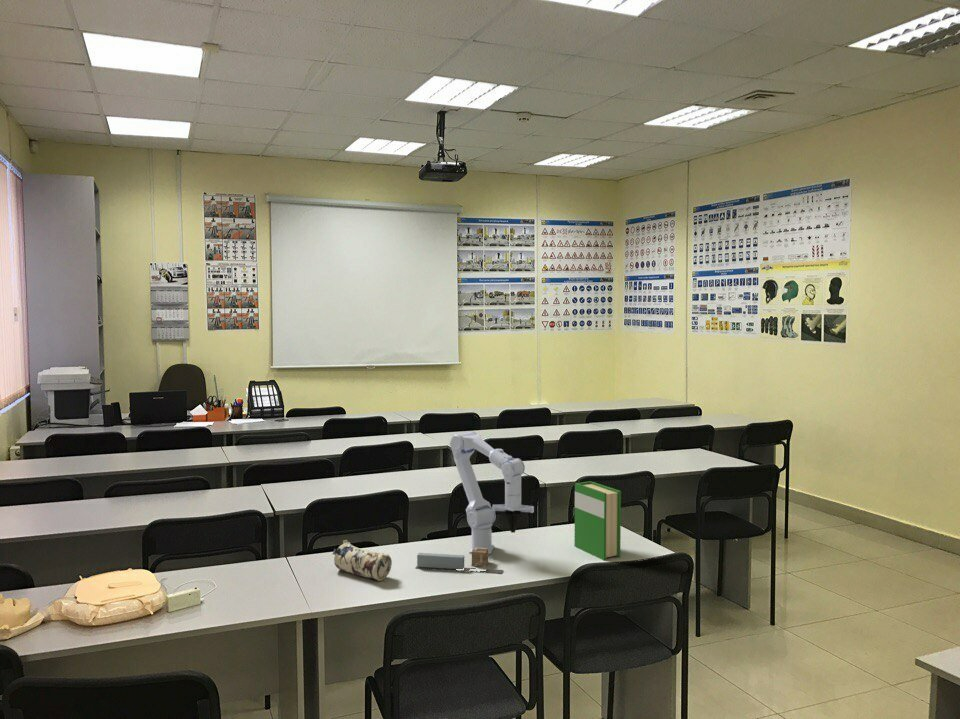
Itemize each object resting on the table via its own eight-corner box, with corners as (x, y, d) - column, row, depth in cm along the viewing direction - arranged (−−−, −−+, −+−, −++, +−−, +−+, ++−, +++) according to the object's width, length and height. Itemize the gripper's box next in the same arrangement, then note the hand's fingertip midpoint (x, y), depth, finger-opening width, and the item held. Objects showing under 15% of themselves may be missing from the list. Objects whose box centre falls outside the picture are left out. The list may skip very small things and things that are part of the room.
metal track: (417, 565, 250) (417, 564, 250) (503, 570, 245) (503, 569, 245) (415, 568, 247) (415, 567, 247) (501, 573, 242) (501, 573, 242)
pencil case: (331, 571, 245) (330, 543, 244) (349, 564, 251) (349, 537, 251) (377, 586, 232) (377, 556, 231) (395, 578, 238) (395, 549, 238)
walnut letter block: (474, 561, 255) (474, 546, 254) (488, 561, 254) (488, 547, 254) (471, 566, 250) (471, 551, 249) (485, 567, 249) (485, 552, 248)
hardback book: (620, 557, 258) (620, 491, 257) (603, 560, 255) (604, 493, 253) (590, 543, 274) (590, 481, 273) (574, 546, 270) (574, 483, 269)
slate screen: (419, 564, 250) (419, 552, 250) (464, 566, 247) (464, 555, 247) (417, 566, 247) (417, 555, 247) (462, 569, 245) (462, 557, 244)
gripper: (490, 495, 251) (491, 534, 252) (532, 497, 248) (532, 536, 249) (494, 490, 258) (494, 528, 258) (534, 492, 255) (534, 530, 256)
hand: (513, 531), depth 254 cm, fingers closed
